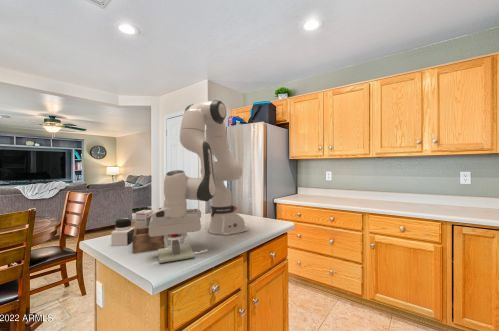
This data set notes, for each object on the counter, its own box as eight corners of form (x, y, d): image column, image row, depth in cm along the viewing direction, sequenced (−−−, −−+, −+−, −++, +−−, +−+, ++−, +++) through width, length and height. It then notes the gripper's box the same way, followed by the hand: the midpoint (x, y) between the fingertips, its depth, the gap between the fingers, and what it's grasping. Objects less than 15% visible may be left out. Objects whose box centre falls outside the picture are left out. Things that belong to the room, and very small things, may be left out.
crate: (162, 242, 108) (162, 225, 108) (164, 251, 97) (164, 232, 97) (134, 246, 103) (134, 228, 103) (132, 255, 92) (132, 236, 92)
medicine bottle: (127, 247, 102) (127, 220, 102) (111, 248, 101) (110, 221, 101) (134, 242, 109) (134, 217, 109) (119, 242, 108) (118, 217, 108)
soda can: (176, 240, 111) (176, 213, 111) (164, 238, 114) (164, 212, 114) (185, 235, 118) (184, 211, 118) (173, 234, 120) (173, 210, 120)
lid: (189, 248, 101) (189, 235, 101) (194, 259, 89) (194, 244, 89) (158, 253, 95) (158, 239, 95) (159, 265, 84) (159, 250, 84)
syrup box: (146, 242, 108) (146, 212, 108) (135, 241, 109) (135, 211, 109) (153, 238, 113) (153, 209, 113) (143, 238, 115) (143, 209, 115)
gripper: (199, 207, 99) (199, 238, 99) (148, 211, 91) (148, 245, 91) (202, 209, 93) (202, 243, 93) (148, 214, 85) (148, 250, 85)
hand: (175, 244), depth 92 cm, fingers open, 4 cm apart
